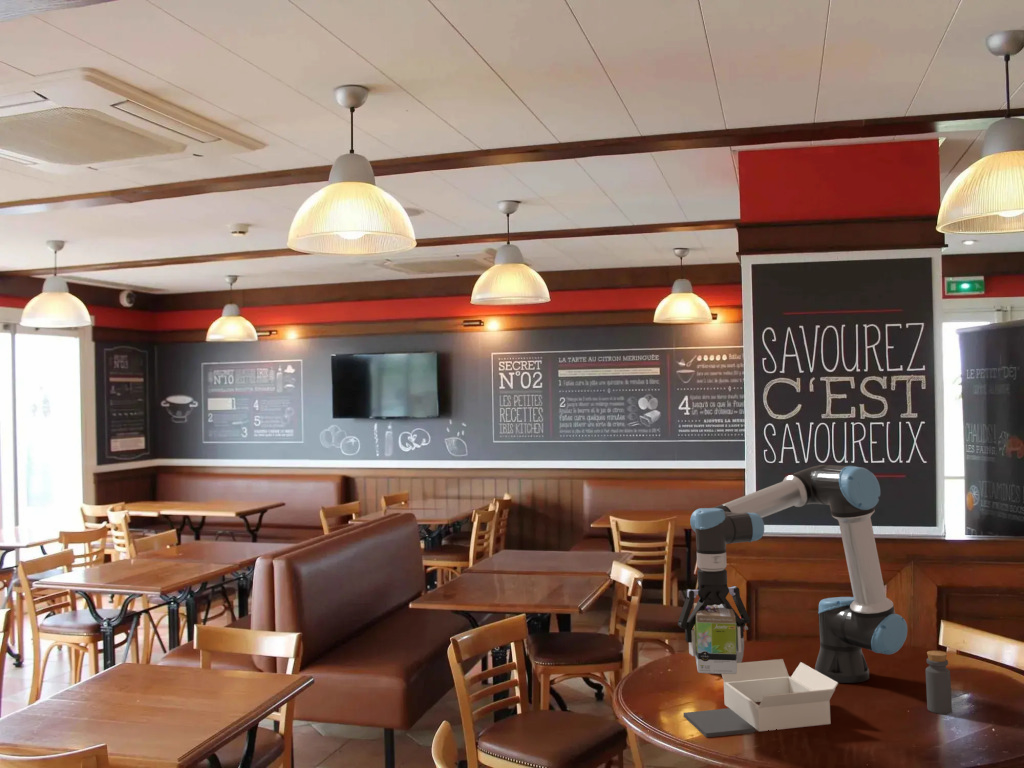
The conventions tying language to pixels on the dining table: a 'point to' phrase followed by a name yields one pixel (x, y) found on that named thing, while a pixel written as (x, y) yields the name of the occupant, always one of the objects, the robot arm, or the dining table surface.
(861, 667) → the robot arm
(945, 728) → the dining table surface
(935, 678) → the bottle
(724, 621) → the tea box
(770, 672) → the carton
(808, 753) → the dining table surface
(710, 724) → the mat
